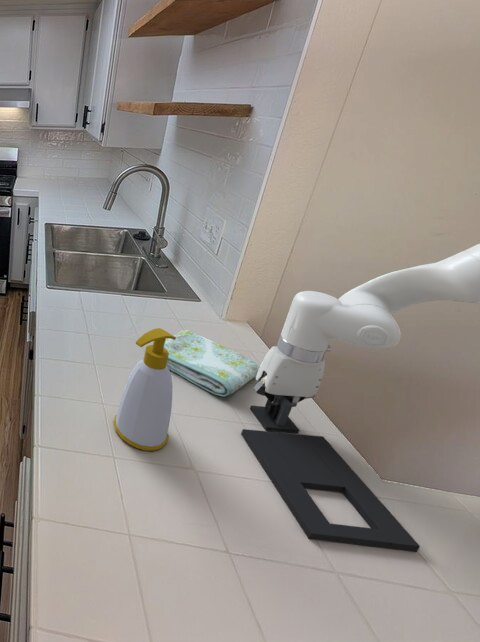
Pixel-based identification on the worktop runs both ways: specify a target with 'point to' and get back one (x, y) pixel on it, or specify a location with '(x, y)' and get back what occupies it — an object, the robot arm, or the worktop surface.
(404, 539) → the big pad
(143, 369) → the soap bottle
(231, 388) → the towel
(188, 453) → the worktop surface
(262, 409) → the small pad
